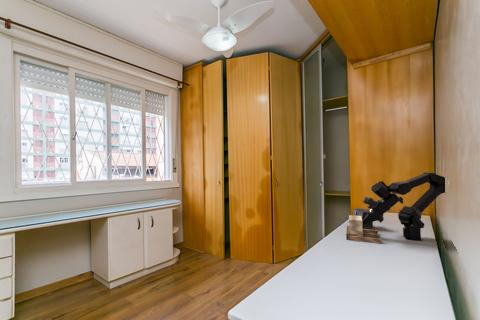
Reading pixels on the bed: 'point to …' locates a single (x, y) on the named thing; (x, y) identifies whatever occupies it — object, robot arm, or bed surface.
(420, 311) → the bed surface
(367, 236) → the bay
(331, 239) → the bed surface
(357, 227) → the pale wooden box
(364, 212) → the small box
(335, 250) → the bed surface
